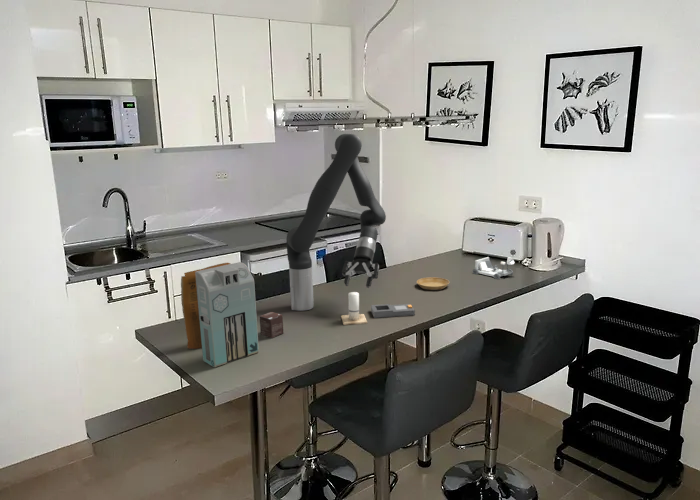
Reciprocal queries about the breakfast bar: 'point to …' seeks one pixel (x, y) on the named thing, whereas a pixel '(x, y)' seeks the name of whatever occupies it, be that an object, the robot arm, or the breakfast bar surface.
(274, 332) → the box
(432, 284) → the plant saucer
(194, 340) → the pancake mix bag
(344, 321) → the cork coaster
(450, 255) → the breakfast bar surface
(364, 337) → the breakfast bar surface
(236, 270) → the device
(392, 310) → the grey charging base
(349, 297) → the plug
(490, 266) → the white wheeled toy
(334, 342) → the breakfast bar surface
